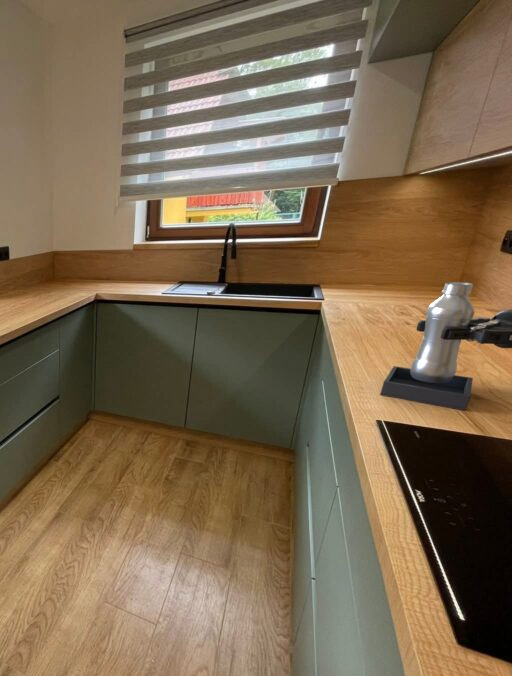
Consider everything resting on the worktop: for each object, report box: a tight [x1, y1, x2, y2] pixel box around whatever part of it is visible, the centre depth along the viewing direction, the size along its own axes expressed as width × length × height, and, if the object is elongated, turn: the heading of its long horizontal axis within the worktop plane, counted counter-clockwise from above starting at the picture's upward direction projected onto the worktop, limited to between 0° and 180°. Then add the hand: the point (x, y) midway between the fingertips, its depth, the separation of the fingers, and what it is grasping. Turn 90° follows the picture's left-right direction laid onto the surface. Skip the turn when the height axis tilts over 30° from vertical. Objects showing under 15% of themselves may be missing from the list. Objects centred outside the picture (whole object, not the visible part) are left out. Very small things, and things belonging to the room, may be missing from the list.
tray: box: [379, 365, 474, 412], centre depth 89 cm, size 13×12×3 cm
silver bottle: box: [409, 281, 475, 383], centre depth 85 cm, size 6×7×20 cm
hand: (430, 329), depth 85 cm, fingers closed on silver bottle, 6 cm apart
